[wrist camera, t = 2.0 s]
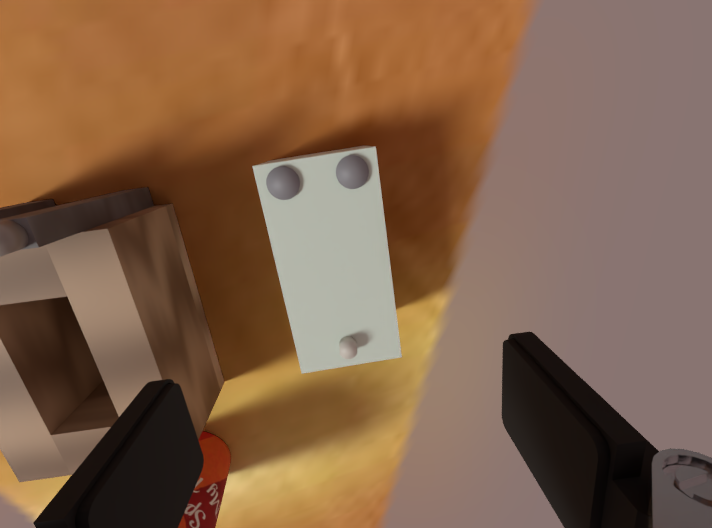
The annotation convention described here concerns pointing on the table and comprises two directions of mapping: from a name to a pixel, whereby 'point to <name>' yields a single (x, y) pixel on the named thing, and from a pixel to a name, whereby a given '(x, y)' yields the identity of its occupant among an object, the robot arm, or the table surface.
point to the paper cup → (208, 484)
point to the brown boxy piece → (93, 325)
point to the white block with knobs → (332, 255)
